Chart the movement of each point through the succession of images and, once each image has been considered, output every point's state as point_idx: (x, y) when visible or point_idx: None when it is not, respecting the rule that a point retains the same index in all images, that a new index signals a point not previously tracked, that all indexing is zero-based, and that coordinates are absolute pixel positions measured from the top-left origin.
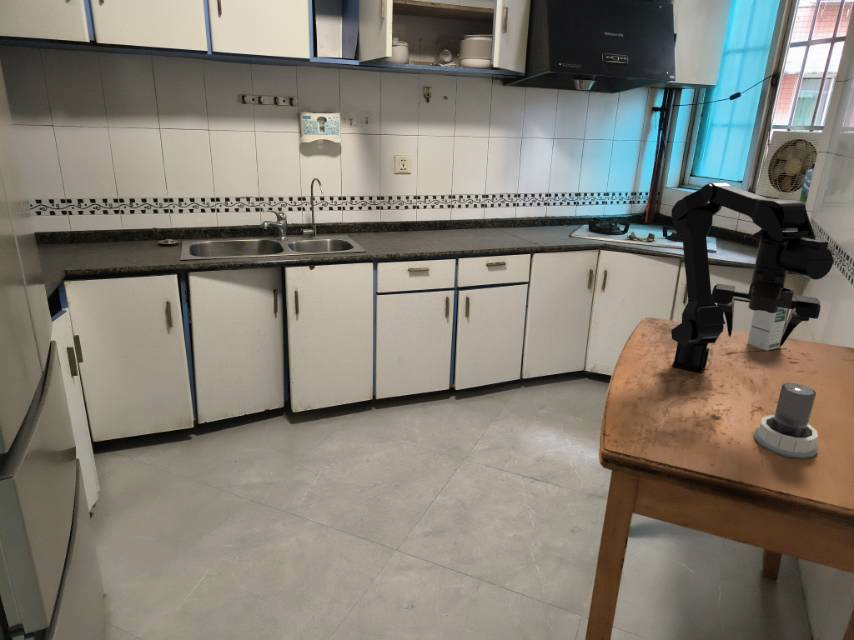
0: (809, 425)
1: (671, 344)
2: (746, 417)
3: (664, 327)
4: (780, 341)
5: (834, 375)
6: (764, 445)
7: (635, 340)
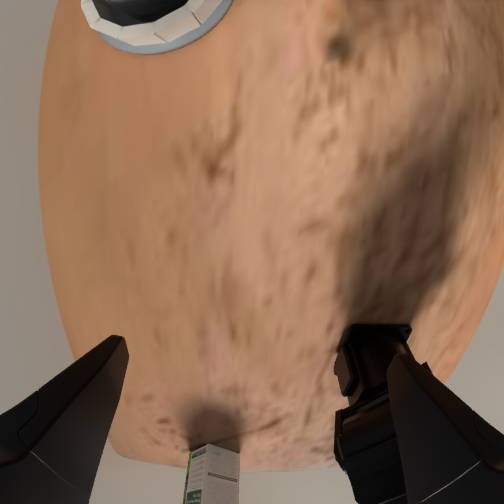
0: (91, 23)
1: None
2: (251, 84)
3: None
4: (116, 358)
5: None
6: None
7: None
